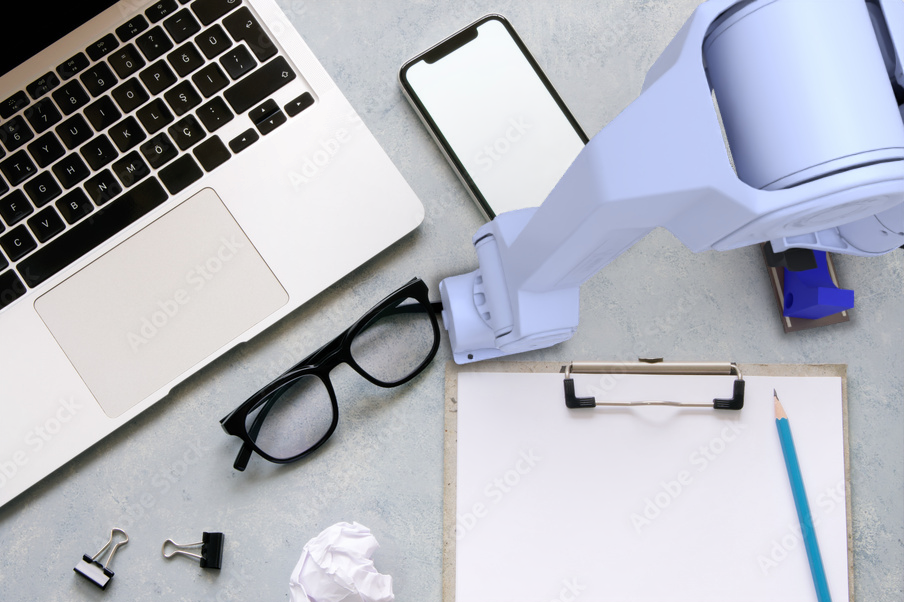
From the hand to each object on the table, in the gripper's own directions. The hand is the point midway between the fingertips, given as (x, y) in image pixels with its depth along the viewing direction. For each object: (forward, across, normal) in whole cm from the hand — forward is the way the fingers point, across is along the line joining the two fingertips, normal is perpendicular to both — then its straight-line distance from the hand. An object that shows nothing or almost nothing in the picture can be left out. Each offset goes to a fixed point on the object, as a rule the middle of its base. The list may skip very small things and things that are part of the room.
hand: (810, 247), depth 68 cm
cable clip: (+2, 0, 0) cm, 2 cm away
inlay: (+3, 0, 0) cm, 3 cm away
